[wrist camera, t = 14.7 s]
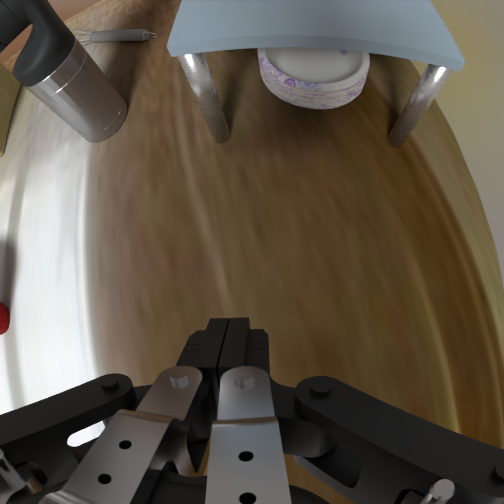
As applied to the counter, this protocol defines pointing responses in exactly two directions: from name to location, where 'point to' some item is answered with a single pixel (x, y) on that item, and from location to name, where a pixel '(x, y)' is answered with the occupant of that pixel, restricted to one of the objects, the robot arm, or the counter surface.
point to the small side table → (315, 42)
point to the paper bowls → (314, 75)
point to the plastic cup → (3, 319)
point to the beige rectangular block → (6, 102)
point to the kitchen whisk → (118, 35)
